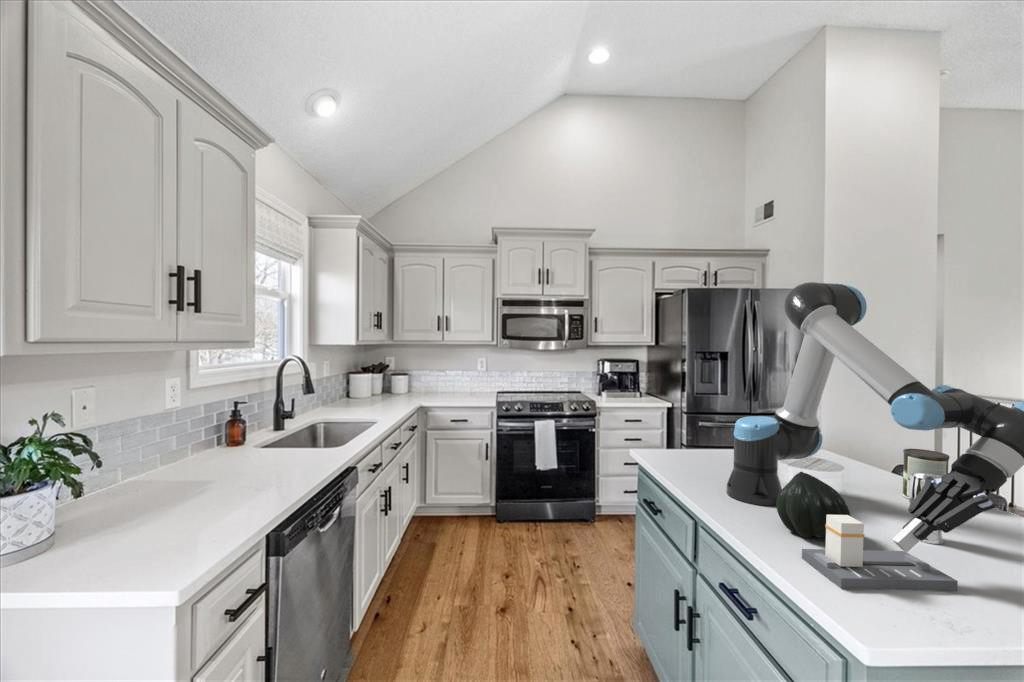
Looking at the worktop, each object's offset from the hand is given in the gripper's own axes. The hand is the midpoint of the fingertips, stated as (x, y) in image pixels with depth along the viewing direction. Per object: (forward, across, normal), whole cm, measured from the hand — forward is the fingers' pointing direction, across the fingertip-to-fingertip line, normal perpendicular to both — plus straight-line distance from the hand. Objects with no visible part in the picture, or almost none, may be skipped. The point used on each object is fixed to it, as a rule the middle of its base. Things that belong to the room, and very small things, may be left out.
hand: (899, 545), depth 94 cm
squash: (+8, +19, 0) cm, 21 cm away
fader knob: (+10, 0, +6) cm, 12 cm away
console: (+8, 0, -1) cm, 8 cm away
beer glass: (-10, +17, -19) cm, 28 cm away
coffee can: (-27, +45, -36) cm, 64 cm away
